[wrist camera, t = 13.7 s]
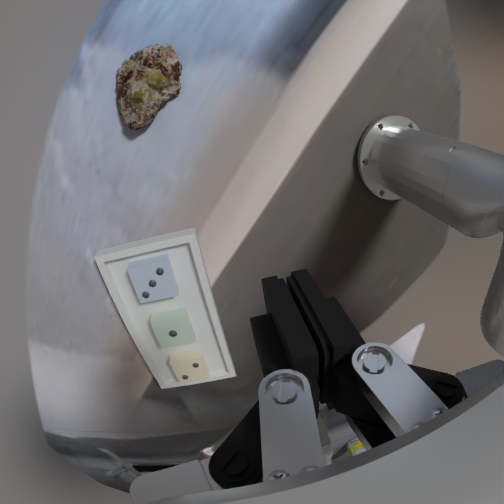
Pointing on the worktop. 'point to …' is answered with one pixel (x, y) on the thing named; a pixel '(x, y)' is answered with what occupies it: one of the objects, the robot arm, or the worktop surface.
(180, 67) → the mineral rock
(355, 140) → the worktop surface
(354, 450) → the supplement bottle
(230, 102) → the worktop surface
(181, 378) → the key two dots
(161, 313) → the key one dot
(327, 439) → the geiger counter
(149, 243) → the key panel
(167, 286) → the key three dots
